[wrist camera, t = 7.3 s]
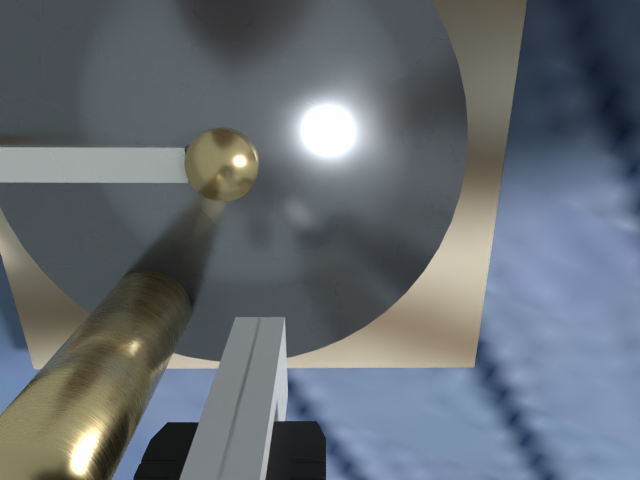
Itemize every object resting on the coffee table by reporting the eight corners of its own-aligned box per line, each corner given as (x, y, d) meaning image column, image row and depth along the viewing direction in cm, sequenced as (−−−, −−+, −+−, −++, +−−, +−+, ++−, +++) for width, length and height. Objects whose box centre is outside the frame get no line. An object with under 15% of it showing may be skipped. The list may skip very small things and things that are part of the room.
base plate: (463, 345, 20) (500, 421, 16) (53, 347, 20) (-16, 423, 16) (531, -173, 13) (626, -274, 9) (-83, -168, 14) (-262, -267, 9)
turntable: (188, 384, 19) (83, 647, 10) (-79, 65, 14) (-642, 82, 6) (513, 222, 16) (720, 403, 8) (313, -231, 12) (294, -950, 3)
